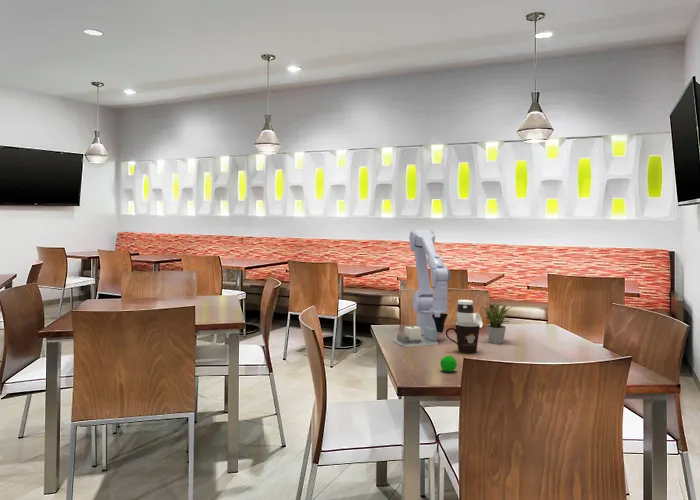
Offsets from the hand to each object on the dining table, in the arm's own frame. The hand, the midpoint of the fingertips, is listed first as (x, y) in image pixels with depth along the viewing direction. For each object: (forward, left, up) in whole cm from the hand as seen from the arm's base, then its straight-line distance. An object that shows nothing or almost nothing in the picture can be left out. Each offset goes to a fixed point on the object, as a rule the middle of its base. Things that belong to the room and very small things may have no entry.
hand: (439, 332), depth 205 cm
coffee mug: (0, +18, -4) cm, 18 cm away
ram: (+4, 0, -2) cm, 5 cm away
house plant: (-21, +9, -4) cm, 23 cm away
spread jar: (-26, -23, -4) cm, 35 cm away
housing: (+12, 0, -2) cm, 12 cm away
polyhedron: (+17, +40, -4) cm, 44 cm away
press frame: (+11, 0, -3) cm, 11 cm away
